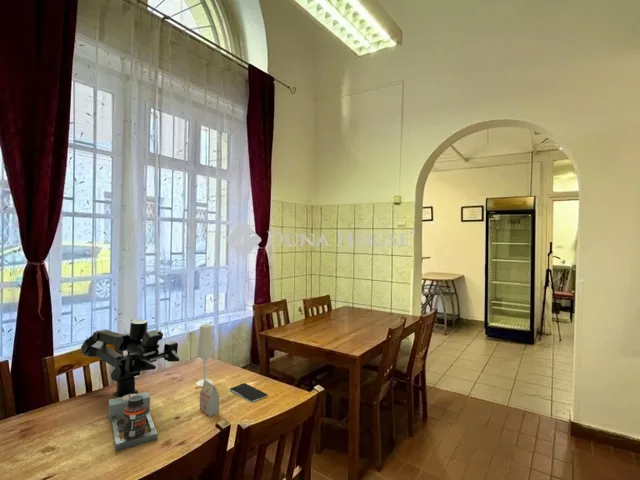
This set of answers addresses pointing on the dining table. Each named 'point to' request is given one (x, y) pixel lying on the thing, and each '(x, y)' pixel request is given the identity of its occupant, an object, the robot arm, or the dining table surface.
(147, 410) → the grey rectangular frame
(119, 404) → the gray rotary dial box
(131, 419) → the supplement bottle
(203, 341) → the champagne flute
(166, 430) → the dining table surface
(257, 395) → the smartphone
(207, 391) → the tea bag
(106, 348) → the robot arm
